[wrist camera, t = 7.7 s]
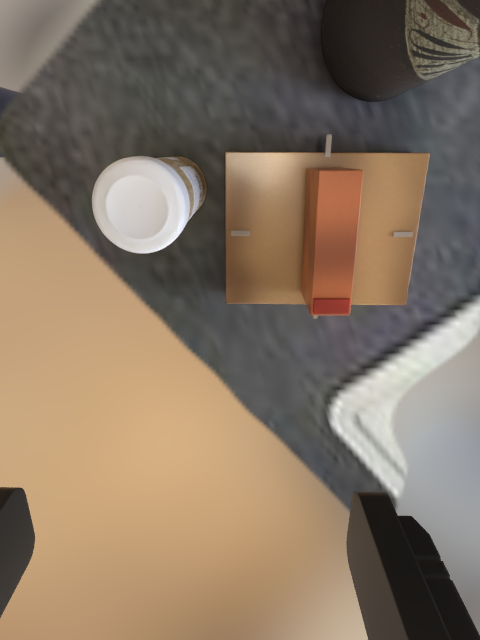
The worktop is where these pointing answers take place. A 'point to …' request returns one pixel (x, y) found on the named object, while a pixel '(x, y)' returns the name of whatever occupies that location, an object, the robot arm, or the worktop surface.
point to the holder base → (288, 223)
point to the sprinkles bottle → (147, 201)
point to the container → (397, 43)
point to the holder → (330, 239)
